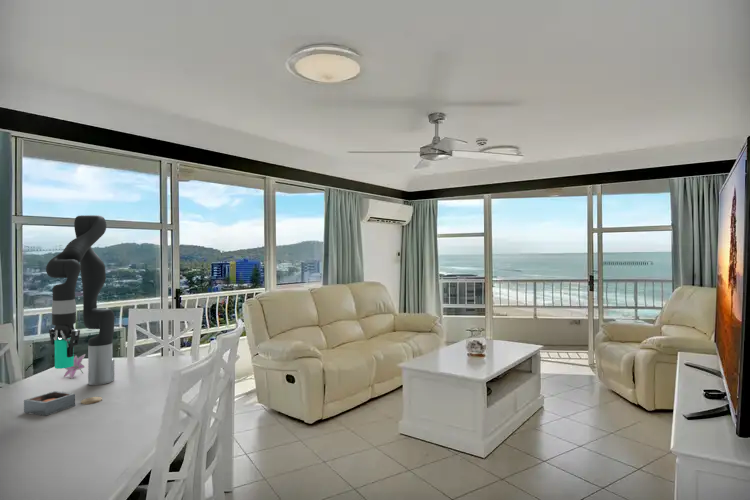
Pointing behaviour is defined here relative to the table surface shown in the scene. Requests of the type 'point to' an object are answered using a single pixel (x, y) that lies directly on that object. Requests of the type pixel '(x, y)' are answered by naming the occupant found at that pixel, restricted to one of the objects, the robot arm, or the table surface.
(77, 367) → the lily
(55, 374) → the table surface
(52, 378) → the table surface
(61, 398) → the gray open box
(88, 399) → the coaster
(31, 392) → the table surface
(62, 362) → the candle
